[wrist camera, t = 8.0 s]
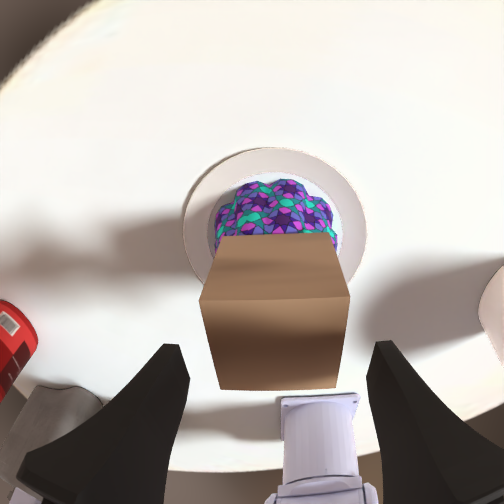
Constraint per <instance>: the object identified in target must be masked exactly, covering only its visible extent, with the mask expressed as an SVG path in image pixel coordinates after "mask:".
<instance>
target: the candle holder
mask: <svg viewBox="0 0 504 504" xmlns="http://www.w3.org/2000/svg"><path fill="white" fill-rule="evenodd" d="M478 315H479V320H480V323H481V325H482V327H483V329H484V331H485V333H486V335H487V337H488V339H489V341H490V342H491V344H492V346H493V348H494V350H495V352H496V354H497V356H498V359H499V361H500V363H501V365H502V367H503V369H504V265H503V266H502V267H501V268H500V269H499V270H498V271H497V272H496V273H495V275H494V276H493V277H492V278H491V280H490V281H489V283H488V285H487V286H486V288H485V290H484V292H483V294H482V297H481V300H480V303H479V310H478Z"/></svg>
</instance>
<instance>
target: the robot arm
mask: <svg viewBox="0 0 504 504" xmlns="http://www.w3.org/2000/svg"><path fill="white" fill-rule="evenodd" d="M366 381H367V389H368V397H369V403H370V407H371V412H372V416H373V420H374V424H375V429H376V433H377V438H378V442H379V447H380V452H381V459H382V472H383V504H503V503H504V498H503V495H504V449H502V448H500V447H499V446H497V445H495V444H494V443H492V442H491V441H489V440H487V439H486V438H484V437H483V436H481V435H480V434H479V433H477V432H476V431H475V430H474V429H472V428H471V427H470V426H468V425H467V424H466V423H464V422H463V421H462V420H461V419H460V418H459V417H458V416H457V415H455V414H454V413H453V412H452V411H451V410H450V409H449V408H448V407H447V406H446V405H445V404H444V403H443V402H442V401H441V400H440V399H439V398H438V397H437V395H436V394H435V393H434V392H433V391H432V390H431V389H430V388H429V387H428V385H427V384H426V383H425V382H424V381H423V379H422V378H421V377H420V376H419V375H418V373H417V372H416V371H415V370H414V369H413V367H412V366H411V365H410V363H409V362H408V361H407V360H406V358H405V357H404V356H403V354H402V353H401V352H400V351H399V349H398V348H397V347H396V345H395V344H394V343H393V342H392V341H391V340H389V341H378V342H376V343H375V347H374V351H373V354H372V358H371V362H370V365H369V369H368V372H367V376H366ZM189 383H190V377H189V374H188V371H187V368H186V365H185V362H184V359H183V356H182V353H181V350H180V347H179V344H163V345H162V346H161V347H160V348H159V349H158V350H157V352H156V353H155V354H154V355H153V356H152V357H151V359H150V360H149V361H148V362H147V363H146V364H145V365H144V367H143V368H142V369H141V370H140V371H139V372H138V373H137V374H136V375H135V376H134V378H133V379H132V380H131V381H130V382H129V383H128V384H127V385H126V386H125V387H124V388H123V389H122V390H121V391H120V392H119V393H118V394H117V395H116V396H115V397H114V398H113V399H112V400H111V401H110V402H109V403H108V404H106V405H105V406H104V407H103V408H102V409H101V410H99V411H98V412H97V413H96V414H95V415H93V416H92V417H91V418H89V419H88V420H87V421H85V422H84V423H82V424H81V425H79V426H78V427H76V428H75V429H73V430H72V431H70V432H69V433H67V434H65V435H64V436H62V437H60V438H58V439H56V440H54V441H52V442H50V443H48V444H46V445H44V446H42V447H39V448H37V449H35V450H32V451H30V452H27V453H26V455H25V457H24V459H23V461H22V463H21V465H20V468H19V470H18V472H17V474H16V479H17V480H18V481H20V482H21V483H22V484H24V485H25V486H27V487H28V488H30V489H31V490H33V491H34V492H36V493H37V494H39V495H40V496H42V497H43V500H42V502H41V501H39V500H37V499H36V498H34V497H32V496H31V495H29V494H27V493H26V492H24V491H23V490H21V489H19V488H18V487H16V488H15V490H14V493H13V495H12V498H11V500H10V503H9V504H163V502H164V493H165V484H166V478H167V471H168V465H169V459H170V455H171V451H172V447H173V444H174V440H175V437H176V434H177V431H178V427H179V424H180V421H181V418H182V414H183V411H184V408H185V404H186V401H187V395H188V389H189ZM359 401H360V395H359V394H349V395H337V396H321V397H295V398H283V399H281V440H282V441H284V462H283V485H279V486H278V494H277V493H274V494H271V496H270V497H269V498H268V499H267V500H266V501H265V503H264V504H378V497H377V492H376V489H375V487H374V486H372V485H370V483H365V484H363V486H362V479H361V476H359V471H358V462H357V453H356V445H355V437H354V429H353V422H352V421H353V418H354V415H355V412H356V410H357V407H358V404H359Z"/></svg>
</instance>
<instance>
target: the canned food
mask: <svg viewBox="0 0 504 504" xmlns="http://www.w3.org/2000/svg"><path fill="white" fill-rule="evenodd" d="M37 344H38V337H37V334H36V332H35V330H34V328H33V326H32V325H31V323H30V322H29V320H28V319H27V318H26V317H25V315H24V314H23V313H22V312H21V311H20V310H19V309H17V308H16V307H15V306H13V305H12V304H10V303H8V302H6V301H0V403H1V401H2V400H3V398H4V397H5V395H6V394H7V392H8V390H9V389H10V387H11V386H12V384H13V383H14V381H15V380H16V378H17V377H18V375H19V374H20V372H21V371H22V369H23V368H24V366H25V365H26V363H27V362H28V360H29V359H30V358H31V356H32V355H33V353H34V352H35V350H36V348H37Z"/></svg>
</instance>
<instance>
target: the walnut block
mask: <svg viewBox="0 0 504 504" xmlns="http://www.w3.org/2000/svg"><path fill="white" fill-rule="evenodd" d="M349 303H350V294H349V291H348V288H347V284H346V281H345V278H344V275H343V272H342V269H341V266H340V263H339V260H338V257H337V254H336V251H335V248H334V245H333V242H332V239H331V237H330V234H329V232H321V233H291V234H265V235H241V236H222V239H221V241H220V244H219V247H218V249H217V252H216V255H215V257H214V260H213V263H212V265H211V268H210V271H209V274H208V276H207V279H206V282H205V285H204V287H203V290H202V293H201V296H200V298H199V304H200V309H201V313H202V317H203V322H204V326H205V330H206V334H207V339H208V343H209V347H210V351H211V355H212V359H213V363H214V367H215V370H216V374H217V378H218V382H219V386H220V389H221V390H249V391H281V390H311V389H328V388H336V383H337V378H338V373H339V367H340V362H341V356H342V350H343V344H344V338H345V331H346V325H347V318H348V310H349Z"/></svg>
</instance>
